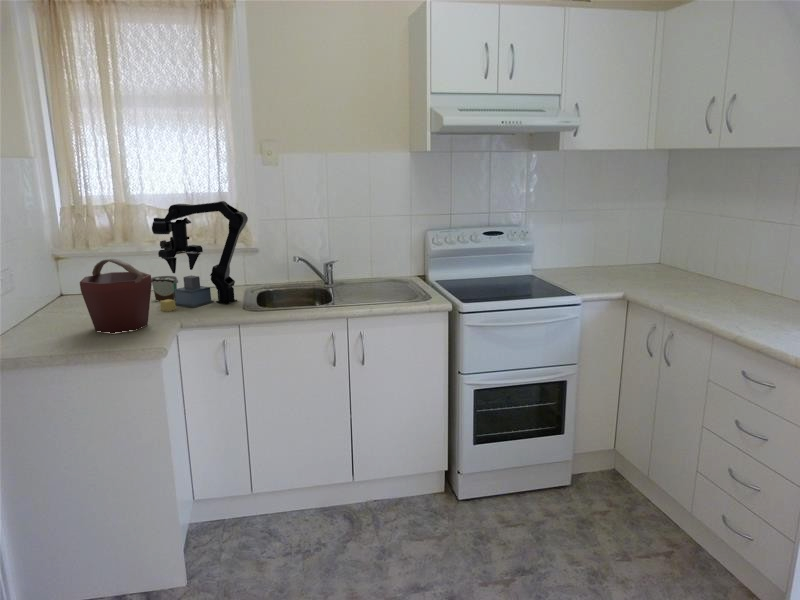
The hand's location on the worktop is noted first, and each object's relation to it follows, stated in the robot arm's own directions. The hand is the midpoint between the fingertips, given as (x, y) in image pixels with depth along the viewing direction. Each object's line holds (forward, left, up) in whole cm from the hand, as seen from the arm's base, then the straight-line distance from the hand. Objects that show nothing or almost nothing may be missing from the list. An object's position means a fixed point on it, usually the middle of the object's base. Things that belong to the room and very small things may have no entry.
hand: (182, 271), depth 243 cm
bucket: (-11, +39, -14) cm, 42 cm away
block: (-5, +13, -13) cm, 19 cm away
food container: (+10, 0, -14) cm, 17 cm away
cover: (-5, 0, -13) cm, 14 cm away
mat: (-5, 0, -13) cm, 14 cm away
